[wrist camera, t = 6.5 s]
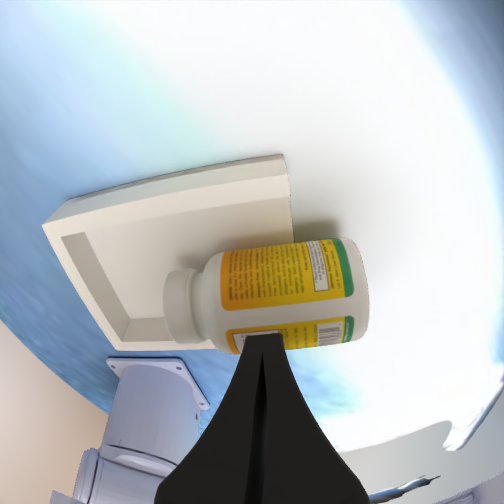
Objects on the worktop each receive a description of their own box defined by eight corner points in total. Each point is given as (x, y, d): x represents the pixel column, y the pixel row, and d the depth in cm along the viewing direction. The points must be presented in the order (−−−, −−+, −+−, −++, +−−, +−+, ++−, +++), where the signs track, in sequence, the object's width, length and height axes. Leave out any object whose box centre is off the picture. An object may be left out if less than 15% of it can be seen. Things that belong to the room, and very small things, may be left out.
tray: (300, 306, 20) (304, 340, 18) (127, 320, 22) (116, 350, 19) (282, 154, 15) (288, 174, 12) (66, 200, 16) (41, 224, 14)
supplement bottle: (371, 357, 13) (172, 376, 14) (348, 317, 18) (198, 334, 19) (368, 241, 12) (146, 270, 13) (341, 230, 17) (182, 252, 18)
